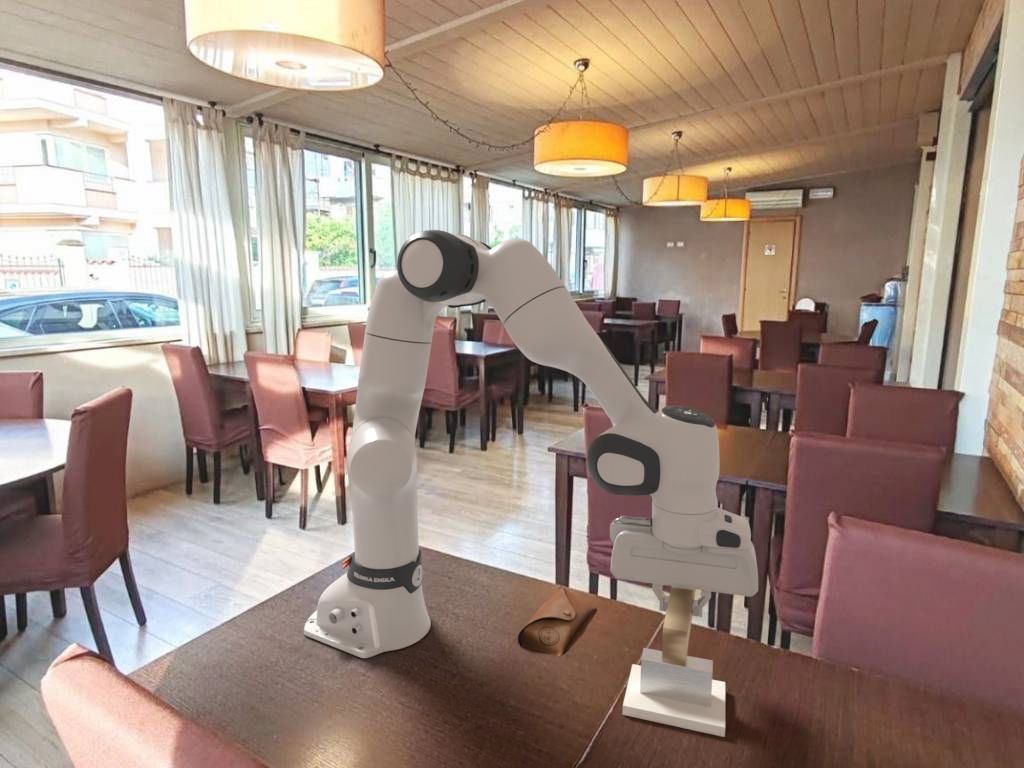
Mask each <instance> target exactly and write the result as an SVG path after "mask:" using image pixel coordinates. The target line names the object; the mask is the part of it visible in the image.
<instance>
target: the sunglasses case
mask: <svg viewBox="0 0 1024 768" xmlns="http://www.w3.org/2000/svg"><path fill="white" fill-rule="evenodd" d="M596 609H597V607H596V606H593V605H591V604H590V603H588V602H587V601H586V600H584V599H582V598H581V597H580V596H577V595H576V594H574V593H573V592H572V591H570V590H569V589H567V588H566V587H564V585H563V584H560V586H559V587H558V588H557V589H556V590H555V591H554V592H553V593H552V594H551V595H550V596H549V597H548V598H547V599H546V600H545V602H543V604H542V605H541V606H539V608H538V609H537V610H536V612H535V613H533V615H532V616H531V617H530V618H529V620H528V621H527V623H525V625H524V626H523V627H522V628H521V629H520V631H519V633H518V635H517V643H518V645H519V646H520V647H524V648H527V649H531V650H534V651H539V652H541V653H545V654H549V655H554V656H555V655H556V656H558V657H562V656H563V655H564V653H565V651H566V648H567V646H568V645H569V644H570V642H571V641H572V638H573V637H574V636H575V635H576V633H577V632H578V630H579V629H580V628H581V626H582V625H583V624H584V622H585V621H586V620H587V618H588V617H589V616H590V615H591V614H592V613H593V612H594V611H596Z"/></svg>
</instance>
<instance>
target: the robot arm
mask: <svg viewBox="0 0 1024 768" xmlns="http://www.w3.org/2000/svg"><path fill="white" fill-rule="evenodd" d="M396 268H397V269H393V270H389V271H386V272H385V273H383V274H382V275H381V276H380V277H379V279H378V281H377V283H376V286H375V290H374V291H373V294H372V299H371V301H370V305H369V310H368V314H367V318H366V324H365V329H364V336H363V343H362V352H361V359H360V364H359V366H360V367H359V373H358V379H357V391H356V400H355V408H354V414H353V420H352V421H353V423H352V429H351V436H350V440H349V443H348V444H349V445H348V448H347V449H348V450H347V453H346V471H347V481H348V482H347V483H348V491H349V498H350V499H349V500H350V505H351V507H350V508H351V513H352V525H353V526H352V527H353V543H354V545H353V546H354V552H352V553H351V554H349V555H348V558H347V559H345V560H344V561H343V562H342V563H341V565H342V567H341V569H342V570H344V569H345V568H347V567H348V570H347V572H345V573H344V574H343V575H341V576H339V578H337V579H336V580H335V581H334V582H332V583H331V584H330V585H329V586H328V587H326V589H324V591H323V592H322V593H321V595H320V597H319V598H318V603H317V607H316V610H315V611H314V612H312V614H311V615H310V616H309V618H307V620H306V622H305V624H304V627H303V635H305V636H306V637H308V638H311V639H314V640H316V641H319V642H320V643H323V644H325V645H328V646H331V647H333V648H336V649H338V650H341V651H343V652H345V653H348V654H351V655H353V656H356V657H359V658H361V659H369V658H372V657H374V656H377V655H379V654H382V653H385V652H390V651H397V650H400V649H405V648H406V647H409V646H411V645H413V644H416V643H417V642H419V641H420V640H422V639H423V638H424V637H425V636H426V635H427V634H428V633H429V631H430V629H431V626H432V625H431V623H432V622H431V617H430V615H429V614H428V610H427V607H426V601H425V598H424V592H423V586H422V583H423V560H422V559H423V558H422V551H421V549H420V547H419V546H420V545H419V519H418V469H417V464H418V463H417V452H416V432H417V431H416V430H417V425H418V421H419V417H420V410H421V407H422V400H423V396H424V391H425V389H426V388H425V387H426V382H427V375H428V370H429V363H430V357H431V356H430V355H431V350H432V344H433V336H434V331H435V330H434V329H435V324H436V320H437V317H438V315H439V313H440V312H441V310H443V309H444V308H446V307H448V308H450V309H455V308H457V309H458V308H462V307H463V308H464V307H470V306H476V305H481V304H483V303H485V302H488V303H489V304H490V306H491V307H492V308H493V310H494V312H495V313H496V315H497V317H498V319H499V320H500V322H501V323H502V325H503V328H504V329H505V331H506V333H507V334H508V336H509V338H510V339H511V340H512V342H513V343H514V345H515V346H516V347H517V349H518V350H519V351H520V352H521V353H522V354H523V355H524V357H526V359H528V360H530V361H531V362H533V363H536V364H538V365H541V366H545V367H549V368H554V369H558V370H561V371H565V372H568V373H569V374H572V375H573V376H574V377H576V378H578V379H579V380H580V381H582V383H584V385H585V386H586V387H587V389H588V391H590V393H591V394H592V395H593V397H594V398H595V400H596V401H597V403H598V404H599V405H600V407H601V408H602V410H603V411H604V412H605V414H606V415H607V417H608V418H609V419H610V422H611V424H612V427H610V428H608V429H607V430H605V431H604V432H601V433H600V434H599V435H598V436H596V437H595V438H594V439H593V440H592V442H591V443H590V445H589V446H588V449H587V452H586V453H587V454H586V464H587V465H586V466H587V470H588V473H589V475H590V477H591V479H592V480H593V481H594V482H595V484H596V485H597V486H598V487H599V488H601V489H602V490H603V491H604V492H607V493H608V494H612V495H614V496H615V495H616V496H648V495H650V496H651V500H652V501H651V513H652V514H651V517H644V516H643V517H642V516H641V517H640V516H639V517H637V516H630V515H620V517H618V518H614V519H613V520H612V521H611V522H610V525H609V538H610V540H611V542H612V543H613V548H612V550H611V551H612V552H611V559H610V573H611V574H612V575H613V577H615V579H620V580H627V581H633V582H641V583H648V584H652V585H651V588H652V591H653V593H654V595H655V597H656V598H657V600H658V601H659V612H664V613H666V611H667V606H668V601H669V596H670V595H666V594H665V592H664V589H663V588H664V587H663V586H670V587H672V586H676V587H683V588H690V589H696V591H697V590H698V591H699V590H700V596H699V598H698V599H695V600H694V599H693V600H692V617H700V618H702V617H703V609H704V607H705V606H706V604H707V603H708V602H709V601H710V600H711V598H712V592H713V593H719V594H720V593H721V594H727V595H728V594H729V595H735V596H740V597H741V596H742V597H743V596H744V597H753V596H754V595H756V594H757V593H758V592H759V573H758V572H759V571H758V564H757V563H758V562H757V555H756V550H755V546H754V544H753V542H752V541H751V538H752V533H751V532H752V531H751V526H750V524H749V521H748V520H747V518H745V517H744V516H743V517H742V516H741V515H738V514H735V513H733V512H730V511H728V510H725V509H723V508H721V507H718V505H719V502H718V497H717V492H716V487H717V484H718V483H717V482H718V480H719V476H720V465H721V464H720V461H721V460H720V457H721V456H720V441H719V431H718V428H717V424H716V423H715V420H714V419H713V418H712V417H710V415H708V414H706V413H705V412H704V411H701V410H699V409H696V408H693V407H689V406H683V405H681V406H679V405H668V406H664V407H662V408H661V409H659V410H658V409H657V408H656V407H654V406H653V405H652V404H651V403H650V402H649V401H647V400H646V398H645V397H644V395H642V392H640V391H639V389H638V388H637V386H636V385H635V383H634V382H633V381H632V379H631V378H630V376H629V375H628V373H627V372H626V371H625V369H624V368H623V366H622V365H621V364H620V362H619V361H618V359H617V358H616V357H615V356H614V354H613V353H612V351H611V350H610V349H609V347H608V346H607V345H606V343H604V341H603V340H602V339H601V337H600V336H599V335H598V334H597V332H596V331H595V329H594V328H593V327H592V325H591V324H590V323H589V321H588V320H587V318H586V317H585V315H584V313H583V312H582V310H581V309H580V307H579V306H578V304H577V303H576V301H575V299H574V298H573V296H572V295H571V293H570V291H569V289H568V288H567V286H566V285H565V284H564V282H563V281H562V279H561V277H560V275H559V274H558V273H557V271H556V270H555V269H554V267H553V266H552V265H551V264H550V263H549V261H548V260H547V259H546V257H545V256H544V255H543V254H542V253H541V252H540V251H539V250H538V248H537V247H536V246H535V244H532V243H531V242H530V241H528V240H526V239H523V238H510V239H508V240H504V241H502V242H499V243H498V244H496V245H495V246H493V247H491V246H489V245H488V244H486V243H485V242H482V241H478V240H476V239H475V238H472V237H470V236H467V235H465V234H460V233H452V232H451V233H450V232H447V231H446V230H440V229H429V230H423V231H419V232H416V233H414V234H412V235H411V236H410V237H408V238H406V240H405V242H404V243H403V244H402V246H401V247H400V249H399V252H398V255H397V261H396Z"/></svg>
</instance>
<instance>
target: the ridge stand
mask: <svg viewBox="0 0 1024 768" xmlns="http://www.w3.org/2000/svg"><path fill="white" fill-rule="evenodd" d="M713 665H714V660H712V659H706V658H701V657H696V656H689V655H687V661H686V667H684V666H679V665H674V664H668V663H663V662H662V650H658V649H652V648H647V647H643V650H642V654H641V658H640V665H639V664H635V663H633V664H632V663H631V668H630V669H631V670H630V674H629V677H628V678H629V679H628V681H627V686H626V691H625V695H624V699H623V702H622V715H623V716H627V717H632V718H637V719H641V720H646V721H650V722H655V723H659V724H664V725H668V726H673V727H678V728H682V729H686V730H690V731H695V732H699V733H704V734H709V735H714V736H717V737H723V738H725V737H726V681H721V680H715V679H713V671H714V666H713Z"/></svg>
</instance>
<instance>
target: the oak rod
mask: <svg viewBox="0 0 1024 768" xmlns="http://www.w3.org/2000/svg"><path fill="white" fill-rule="evenodd" d="M696 592H697V589H690V588H683V587H676V586H670V592H669V595H668V596H669V601H668V606H667V611H666V612H665V617H664V621H663V625H662V626H663V627H662V646H661V647H662V648H661V651H662V662H663V663H668V664H674V665H679V666H684V667H686V661H687V656H688V651H689V645H690V635H691V630H692V629H691V628H692V621H693V616H692V600H693V599H694V600H696V599H695V598H696Z"/></svg>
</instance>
